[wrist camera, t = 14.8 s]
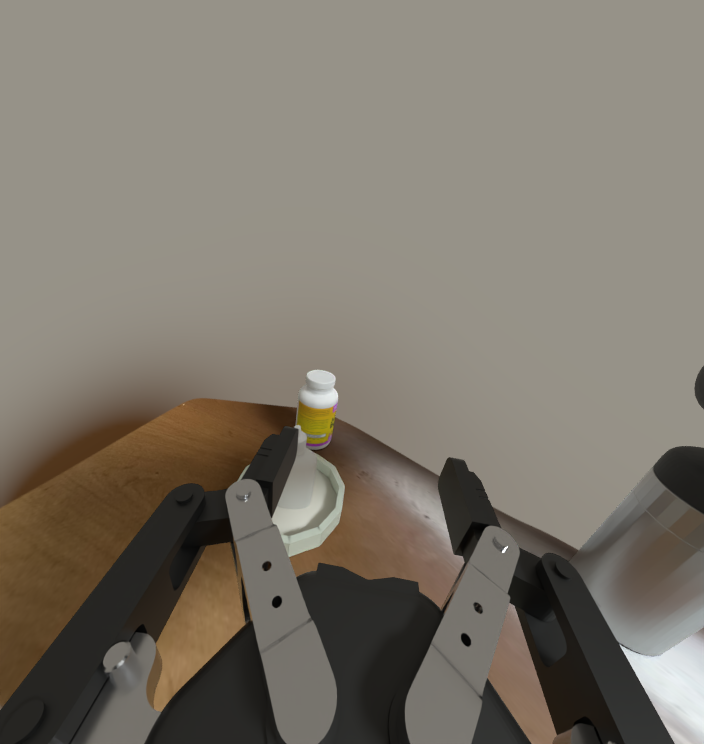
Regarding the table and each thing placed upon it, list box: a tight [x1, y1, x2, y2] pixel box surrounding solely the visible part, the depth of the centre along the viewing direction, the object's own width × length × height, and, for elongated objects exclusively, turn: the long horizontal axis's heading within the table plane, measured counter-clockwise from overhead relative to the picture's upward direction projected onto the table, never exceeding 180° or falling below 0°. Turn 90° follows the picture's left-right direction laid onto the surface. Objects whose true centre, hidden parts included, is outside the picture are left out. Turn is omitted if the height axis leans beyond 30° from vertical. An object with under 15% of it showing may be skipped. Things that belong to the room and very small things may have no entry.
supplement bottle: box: [296, 370, 338, 450], centre depth 45 cm, size 7×7×13 cm
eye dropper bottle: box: [277, 425, 317, 509], centre depth 33 cm, size 4×6×12 cm
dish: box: [238, 453, 345, 557], centre depth 35 cm, size 14×14×2 cm
